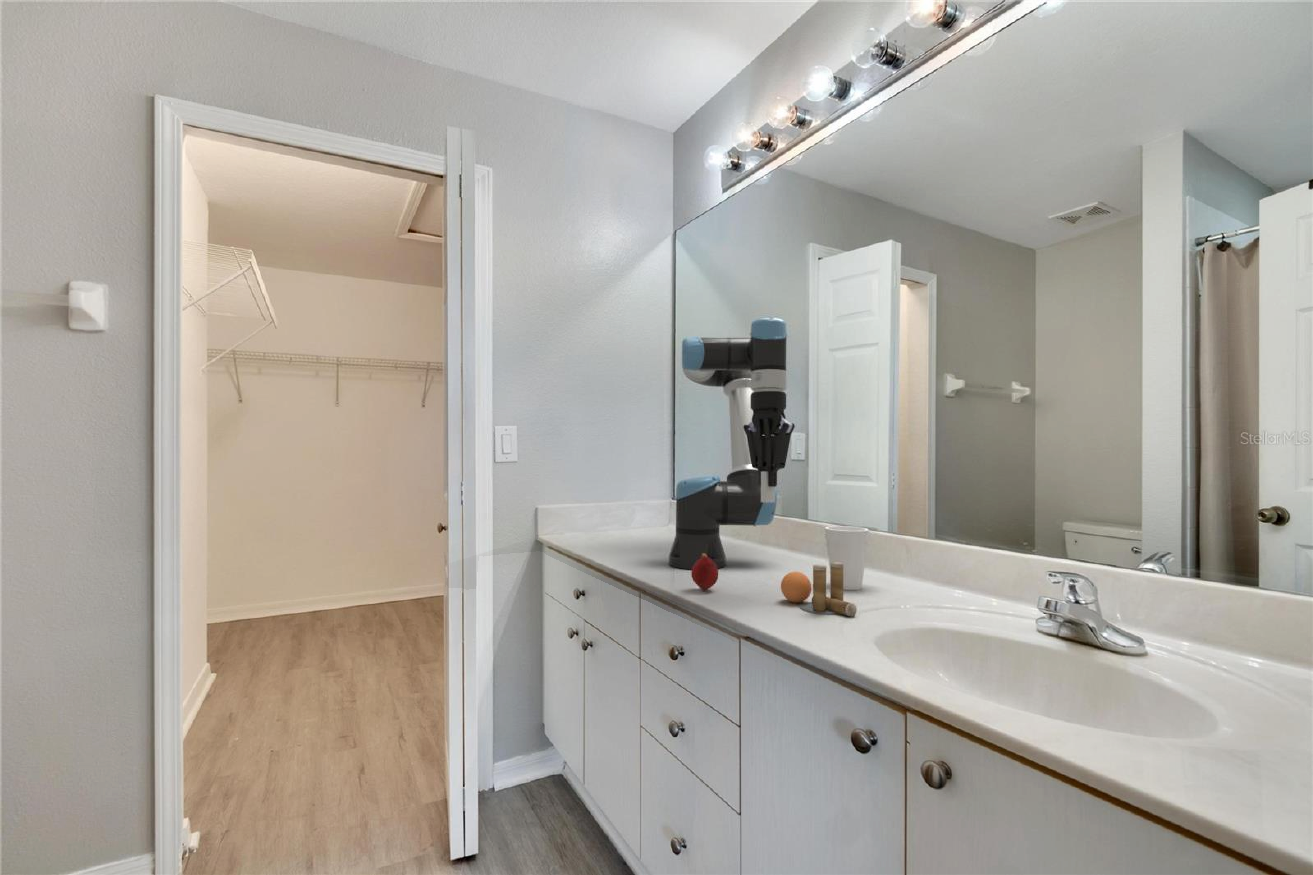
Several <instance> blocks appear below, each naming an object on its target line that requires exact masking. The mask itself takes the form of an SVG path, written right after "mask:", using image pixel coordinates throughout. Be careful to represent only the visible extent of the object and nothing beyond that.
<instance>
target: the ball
mask: <svg viewBox="0 0 1313 875" xmlns="http://www.w3.org/2000/svg"><path fill="white" fill-rule="evenodd" d="M780 590H781V593H782V595H783V597H784V598H785V599H786V600H788V601H790V602H792V603H802V602H804V601H806V600H807V599H808V598H809V597H810V596H811V594H812V583H811V580H810V579H809V577H808V576H807V575H806V574H804V573H802V572H800V571H791V572H788V573H787V574H785V575H784V576H783V578H782V580H781V582H780Z"/></svg>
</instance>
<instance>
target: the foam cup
mask: <svg viewBox="0 0 1313 875" xmlns="http://www.w3.org/2000/svg"><path fill="white" fill-rule="evenodd" d="M824 538H825V541H826V550H827V557H828V558H827V559H828V565H829V567H830V563H831V562H840V563H843V590H847V591H856V590H861V589H862V585H863V580H864V572H865V565H866V559H867V551H868V545H869V544H868V542H869V541H870V529H869V528H865V527H861V526H849V525H848V526H847V525H831V526H826V527H824ZM860 588H861V589H860Z"/></svg>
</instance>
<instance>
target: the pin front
mask: <svg viewBox="0 0 1313 875" xmlns="http://www.w3.org/2000/svg"><path fill="white" fill-rule="evenodd" d="M811 602H812V605H813V596H812V598H811ZM826 610H829V611H833V612H837V613H839V615H843V616H846V617H847V616H848V617H851V618H854V616H856V614H857V610H858V609H857V605H856V604H855V603H852V602H849V601H845V600H843V601H841V600H837V599H834V598H830V596H826Z"/></svg>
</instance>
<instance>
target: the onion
mask: <svg viewBox="0 0 1313 875" xmlns="http://www.w3.org/2000/svg"><path fill="white" fill-rule="evenodd" d="M690 573H691V579H692V581H693V582H694V584H696V585H697V587H698V588H700V590H701V591H703V592H707V591H708V590H709V589H710V588H713V586H715V585H716V583H717V581H718V580H719V568H717V566H716V564H715V563H714V562H713V561H712V560H711V559H709V558H708V556H707V555H706V554H704V553H702V558H700V559H699V560H698V561H697V562H696V563H695V564H694V566H693V568H692V569H691V572H690Z"/></svg>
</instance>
